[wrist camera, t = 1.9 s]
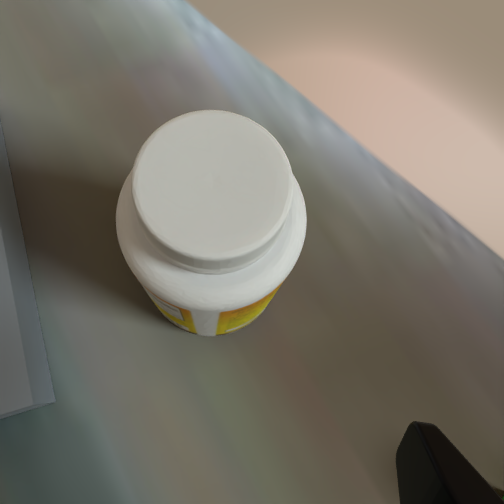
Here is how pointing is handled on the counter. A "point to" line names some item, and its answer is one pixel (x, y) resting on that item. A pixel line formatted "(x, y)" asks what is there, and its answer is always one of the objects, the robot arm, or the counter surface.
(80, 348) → the counter surface
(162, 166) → the supplement bottle
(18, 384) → the housing cradle
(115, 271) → the counter surface
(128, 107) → the counter surface
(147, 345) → the counter surface
